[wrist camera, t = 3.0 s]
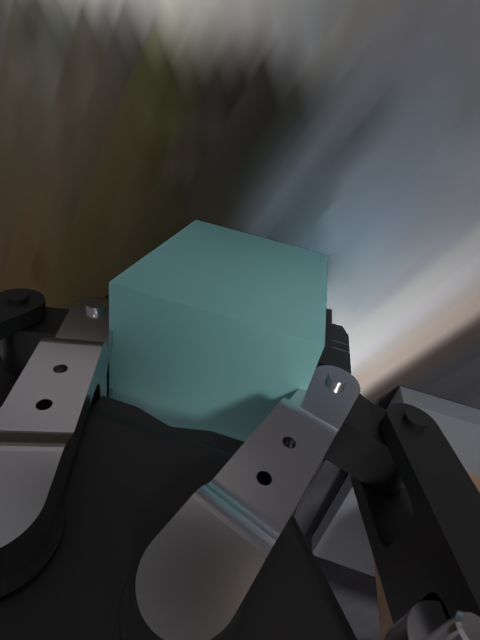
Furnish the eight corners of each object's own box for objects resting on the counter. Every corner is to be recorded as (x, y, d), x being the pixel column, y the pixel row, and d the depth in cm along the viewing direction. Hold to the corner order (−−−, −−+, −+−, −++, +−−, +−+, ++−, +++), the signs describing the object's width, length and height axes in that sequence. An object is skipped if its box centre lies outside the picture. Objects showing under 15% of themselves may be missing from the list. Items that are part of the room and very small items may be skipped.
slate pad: (399, 386, 14) (403, 402, 14) (717, 480, 13) (743, 505, 13) (312, 536, 21) (311, 554, 20) (523, 609, 20) (532, 632, 19)
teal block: (196, 219, 13) (108, 282, 8) (328, 254, 13) (324, 345, 8) (181, 329, 16) (109, 430, 11) (290, 362, 15) (269, 484, 10)
